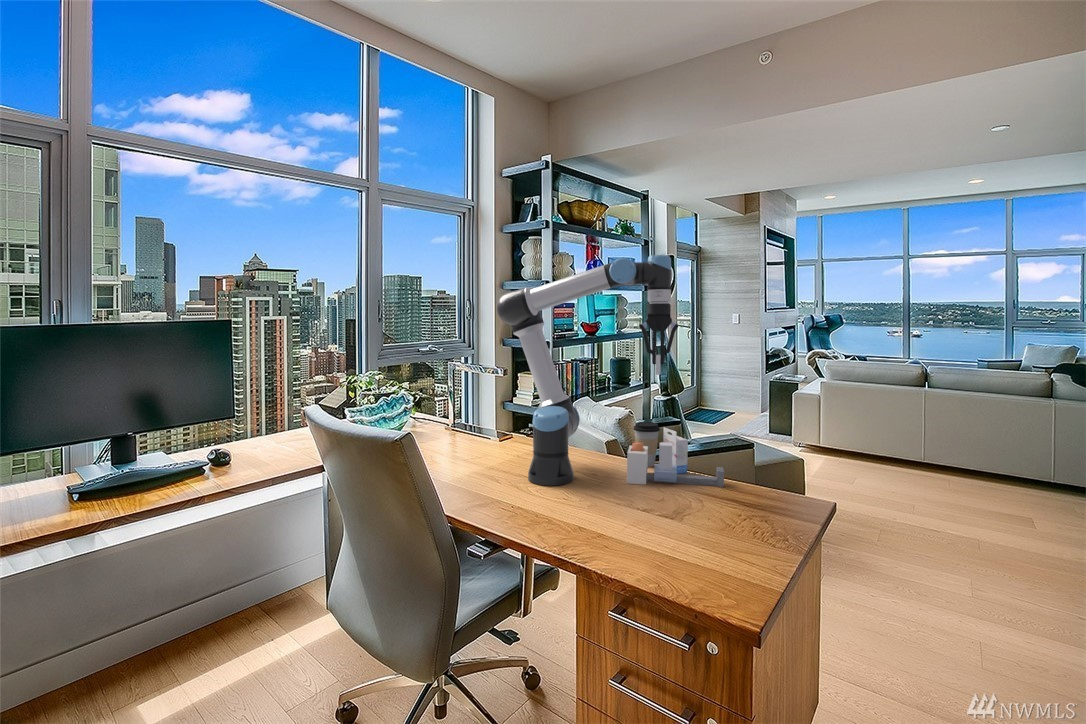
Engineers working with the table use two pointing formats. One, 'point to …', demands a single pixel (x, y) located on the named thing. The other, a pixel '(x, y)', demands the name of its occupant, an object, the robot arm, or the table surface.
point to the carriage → (665, 464)
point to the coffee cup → (648, 438)
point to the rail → (696, 479)
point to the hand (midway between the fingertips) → (658, 374)
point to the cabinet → (637, 466)
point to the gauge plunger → (637, 446)
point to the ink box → (677, 449)
